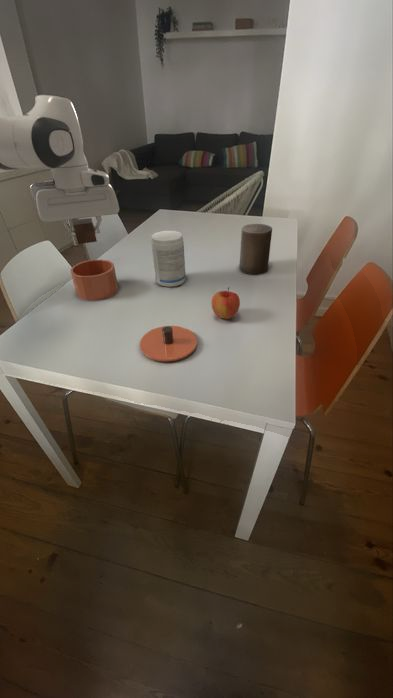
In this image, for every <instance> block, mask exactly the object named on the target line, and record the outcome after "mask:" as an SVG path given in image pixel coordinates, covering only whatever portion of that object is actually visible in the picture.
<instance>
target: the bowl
mask: <svg viewBox="0 0 393 698" xmlns="http://www.w3.org/2000/svg"><path fill="white" fill-rule="evenodd" d="M115 268H116V267H115V264H114V262H112V261H110V260H106V259H90V260H85V261H81V262H78V263H76V264H74V265H73V266H72V267H71V268H70V274H71V278H72V282H73V285H74V289H75V292H76V295H77V297H78V298H80V299H82V300H84V301H100V300H105V299H108V298H111V297H112V296H115V294H117V292H118V291H119V283H118V278H117V275H116V269H115Z"/></svg>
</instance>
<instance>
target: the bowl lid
mask: <svg viewBox="0 0 393 698" xmlns="http://www.w3.org/2000/svg"><path fill="white" fill-rule="evenodd" d="M197 343H198V340H197V337H196V335H195V334H194V332H193V331H192V330H190V329H188V328H187V327H183V326H178V325H164V326H159V327H155V328H153V329H150V330H148V331H147V332H146V333H145V334H143V336H142V337H141V340H140V341H139V348H140V351H141V353H142V354H143V355H144V356H145V357H147V358H149V359H151V360H153V361H158V362H174V361H179V360H182V359H184V358H186V357H188V356H190V355H191V354H192V353H193V352H194V351H195V350H196V348H197V345H198V344H197Z"/></svg>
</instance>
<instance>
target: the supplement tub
mask: <svg viewBox="0 0 393 698" xmlns="http://www.w3.org/2000/svg"><path fill="white" fill-rule="evenodd" d="M150 239H151V248H152V250H151V251H152V259H153V266H154V273H155V281H156V283H157V284H158V285H159V286H162V287H167V288H168V287H169V288H171V287H172V288H173V287H178V286H180V285H183V284H184V282H185V281H186V261H185V243H184V237H183V233H182V232H179V231H178V230H177V231H176V230H161V231H158V232H155V233H153V234H152V235H151V238H150Z"/></svg>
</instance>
